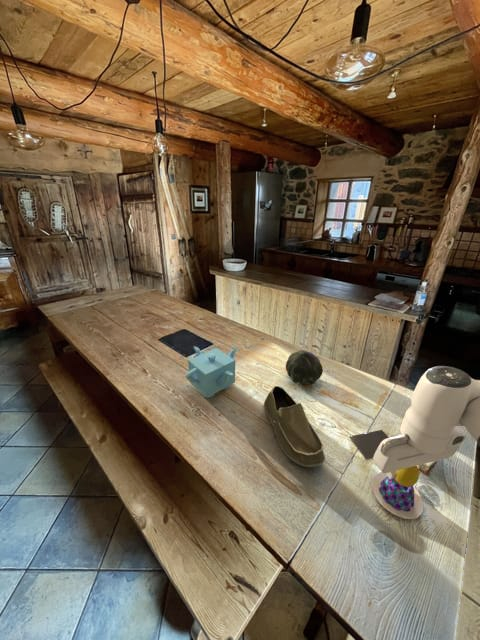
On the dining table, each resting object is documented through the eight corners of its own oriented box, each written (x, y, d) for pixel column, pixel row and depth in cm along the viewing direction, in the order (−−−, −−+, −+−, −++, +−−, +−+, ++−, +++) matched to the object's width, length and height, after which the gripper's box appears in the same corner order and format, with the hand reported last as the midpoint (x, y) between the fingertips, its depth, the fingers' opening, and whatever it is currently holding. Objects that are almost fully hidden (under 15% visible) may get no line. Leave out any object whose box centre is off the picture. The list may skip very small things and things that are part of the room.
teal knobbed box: (185, 400, 100) (181, 368, 94) (195, 370, 117) (193, 341, 110) (234, 403, 99) (235, 371, 93) (238, 372, 116) (238, 343, 110)
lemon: (389, 488, 66) (398, 467, 63) (387, 469, 71) (395, 448, 67) (415, 497, 64) (425, 475, 61) (411, 476, 69) (421, 455, 65)
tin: (427, 444, 84) (436, 424, 81) (439, 450, 82) (449, 430, 79) (414, 475, 75) (423, 455, 71) (426, 483, 73) (437, 463, 69)
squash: (314, 355, 120) (298, 336, 112) (334, 375, 107) (318, 357, 99) (291, 375, 121) (273, 359, 113) (308, 398, 109) (289, 382, 100)
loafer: (300, 480, 73) (304, 454, 68) (253, 406, 98) (254, 384, 93) (332, 465, 77) (339, 440, 72) (279, 398, 102) (282, 376, 97)
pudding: (368, 468, 76) (372, 456, 74) (415, 480, 73) (420, 468, 71) (374, 511, 66) (379, 498, 64) (429, 527, 63) (436, 515, 61)
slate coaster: (381, 430, 89) (381, 429, 88) (399, 451, 82) (400, 450, 81) (349, 437, 86) (350, 436, 86) (365, 459, 79) (366, 457, 79)
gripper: (395, 453, 55) (379, 494, 61) (473, 435, 59) (451, 475, 65) (374, 429, 60) (361, 469, 66) (447, 414, 64) (429, 453, 70)
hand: (406, 472), depth 66 cm, fingers open, 8 cm apart
